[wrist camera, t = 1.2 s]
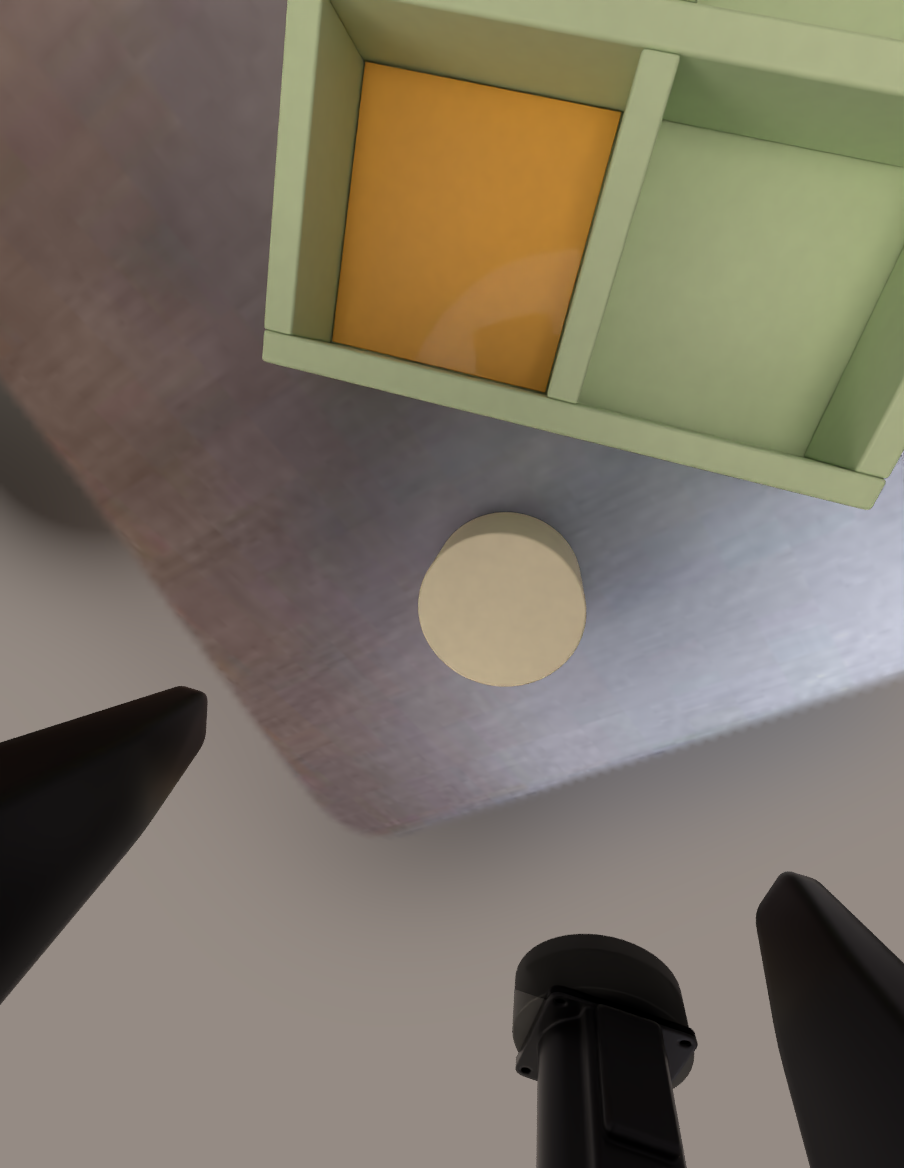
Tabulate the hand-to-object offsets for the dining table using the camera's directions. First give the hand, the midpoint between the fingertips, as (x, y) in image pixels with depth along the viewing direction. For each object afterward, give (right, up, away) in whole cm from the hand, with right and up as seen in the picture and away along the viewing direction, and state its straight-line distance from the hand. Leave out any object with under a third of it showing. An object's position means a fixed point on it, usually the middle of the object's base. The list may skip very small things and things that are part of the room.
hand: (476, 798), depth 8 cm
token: (+1, +3, +8) cm, 9 cm away
